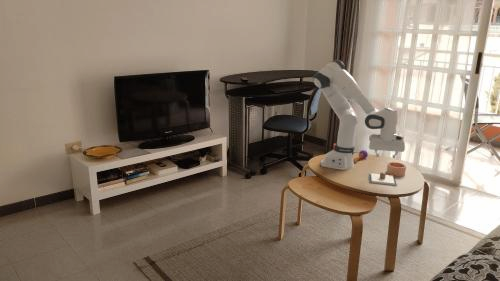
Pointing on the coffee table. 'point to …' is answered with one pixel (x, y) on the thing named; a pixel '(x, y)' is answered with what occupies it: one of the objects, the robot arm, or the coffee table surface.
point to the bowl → (396, 169)
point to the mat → (382, 184)
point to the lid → (382, 178)
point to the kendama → (361, 155)
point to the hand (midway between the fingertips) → (385, 157)
